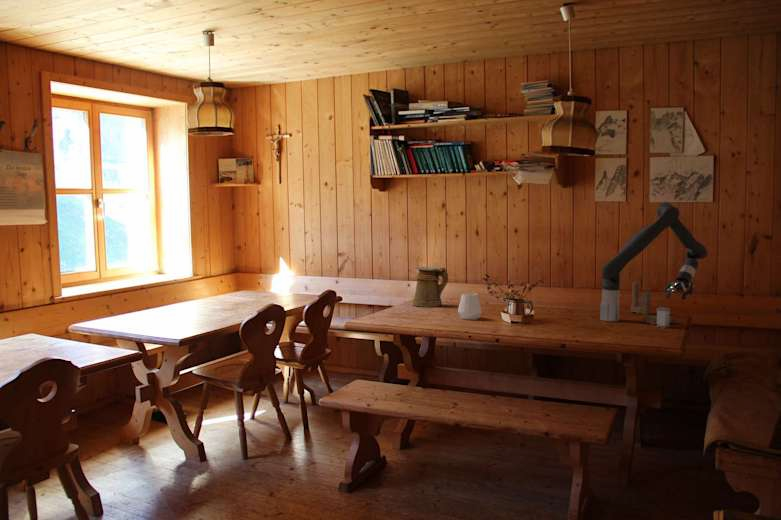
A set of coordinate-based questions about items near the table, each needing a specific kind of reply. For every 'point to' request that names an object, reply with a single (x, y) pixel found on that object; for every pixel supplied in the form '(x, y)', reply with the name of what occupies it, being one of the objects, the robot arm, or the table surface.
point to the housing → (663, 317)
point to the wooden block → (640, 300)
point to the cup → (469, 306)
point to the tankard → (429, 286)
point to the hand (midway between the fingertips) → (674, 298)
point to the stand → (654, 320)
